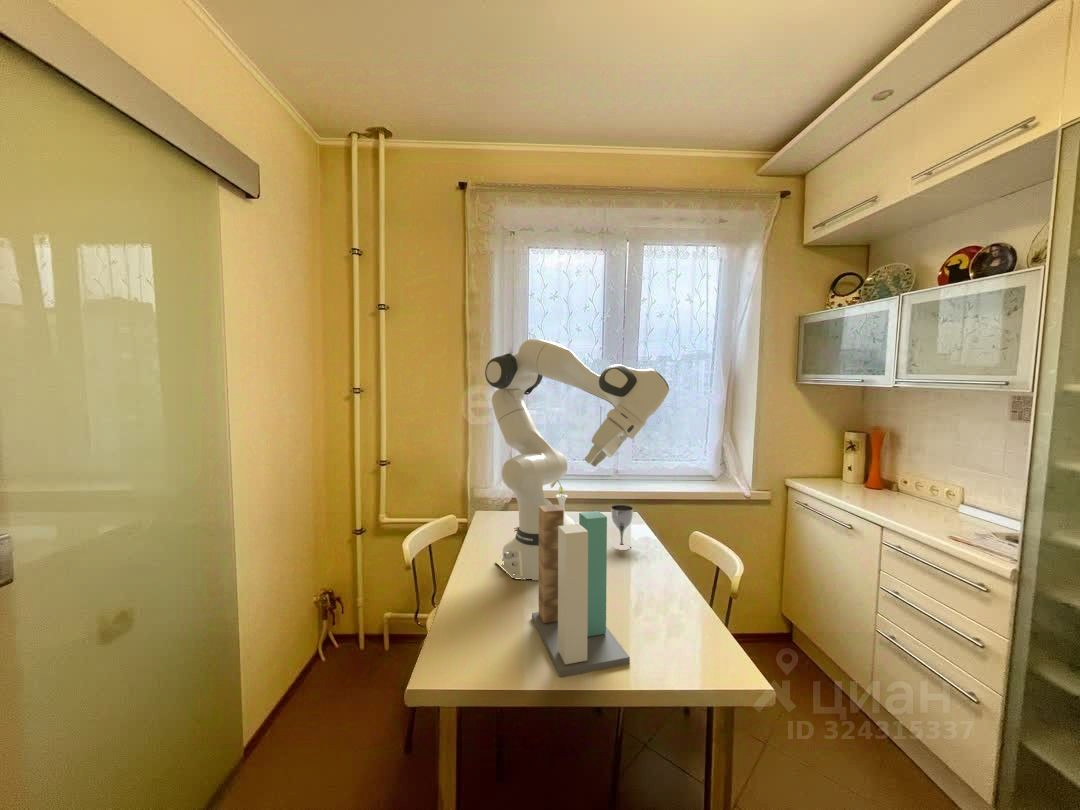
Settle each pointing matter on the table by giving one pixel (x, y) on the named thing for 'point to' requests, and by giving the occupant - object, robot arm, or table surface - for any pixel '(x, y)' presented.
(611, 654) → the board
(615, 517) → the wine glass
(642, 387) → the robot arm
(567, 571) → the cream post
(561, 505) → the flower in vase
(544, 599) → the walnut post
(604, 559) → the teal post
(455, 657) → the table surface
